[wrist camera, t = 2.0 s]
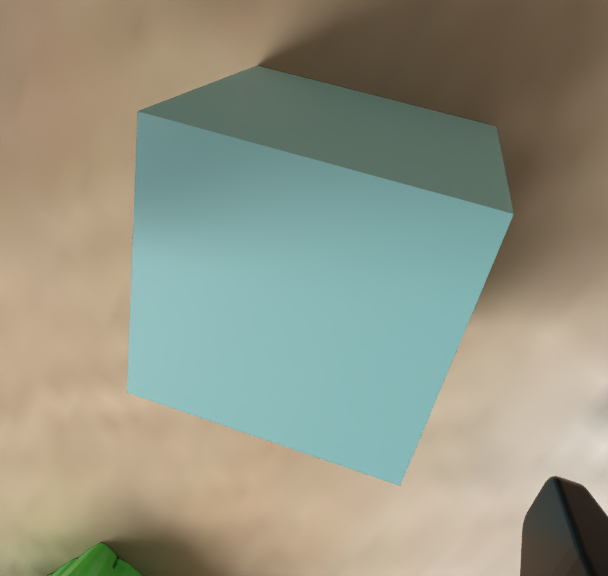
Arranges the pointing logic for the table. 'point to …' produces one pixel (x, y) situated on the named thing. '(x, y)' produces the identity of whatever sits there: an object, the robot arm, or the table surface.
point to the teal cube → (309, 261)
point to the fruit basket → (97, 564)
